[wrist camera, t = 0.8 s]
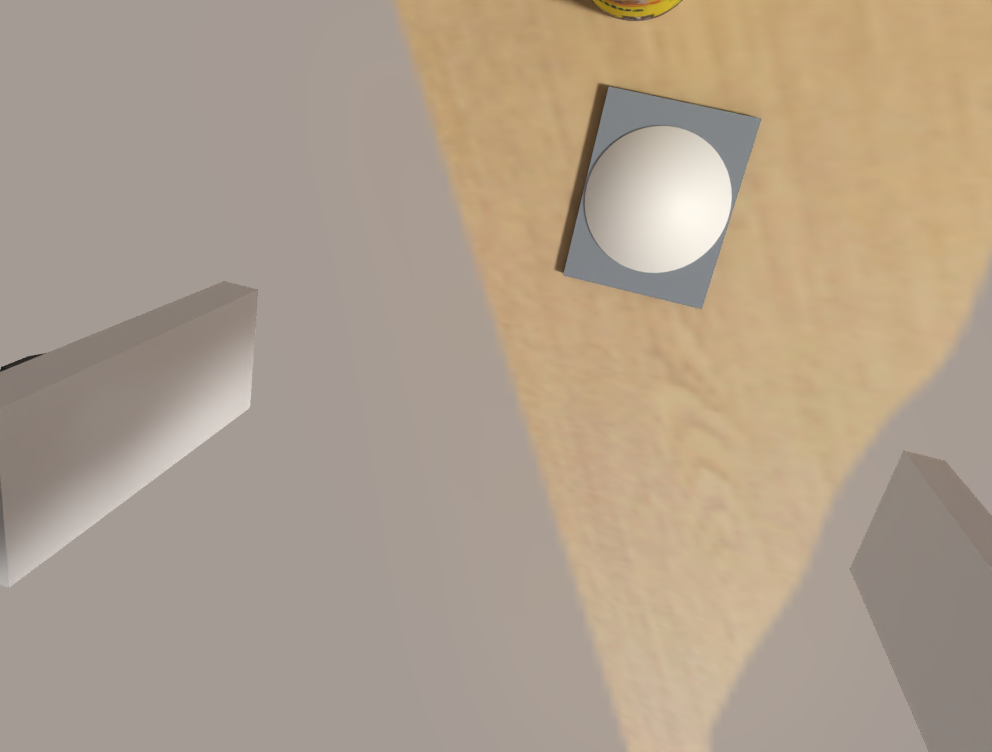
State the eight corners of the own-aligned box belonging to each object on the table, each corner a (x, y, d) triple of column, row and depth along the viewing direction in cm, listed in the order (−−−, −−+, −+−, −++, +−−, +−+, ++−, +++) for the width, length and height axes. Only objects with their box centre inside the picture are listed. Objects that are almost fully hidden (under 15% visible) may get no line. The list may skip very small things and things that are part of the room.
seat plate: (609, 87, 34) (608, 86, 33) (759, 118, 33) (761, 118, 33) (564, 273, 37) (562, 275, 37) (700, 306, 36) (701, 309, 36)
